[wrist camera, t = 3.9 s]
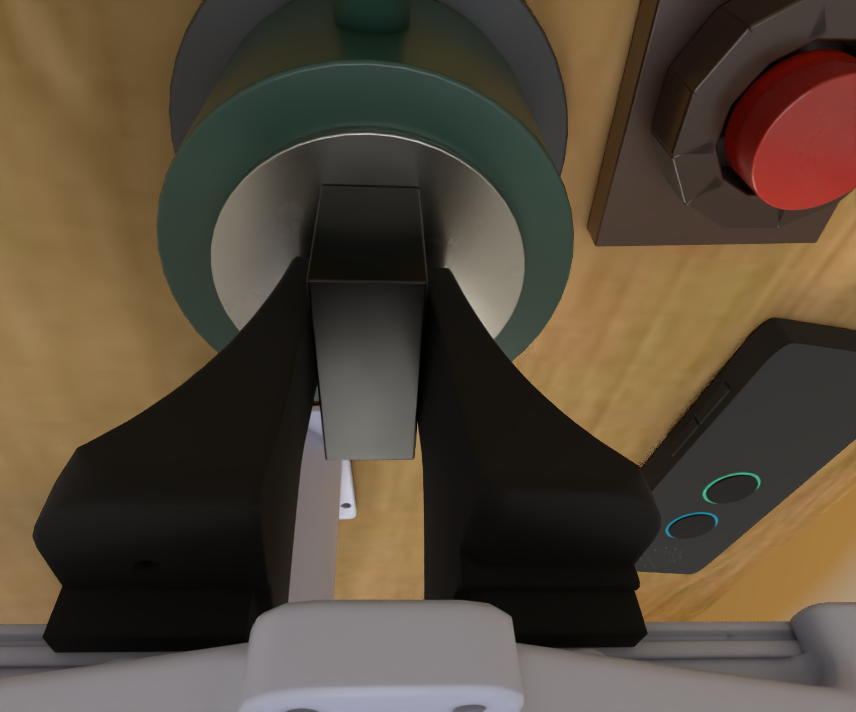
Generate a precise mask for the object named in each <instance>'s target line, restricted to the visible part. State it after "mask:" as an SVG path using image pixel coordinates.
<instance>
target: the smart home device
mask: <svg viewBox="0 0 856 712" xmlns="http://www.w3.org/2000/svg"><path fill="white" fill-rule="evenodd" d="M855 439H856V331H853V330H847V329H841V328H834V327H828V326H821V325H815V324H809V323H802V322H796V321H790V320H783V319H777V318H774V319H771V320H769V321H767V322H766V323H764V324H763V325H761V326H760V327H759V328H758V329H757V330H756V331H755V332H754V333H753V334H752V335H751V336H750V337H749V338H748V339H747V341H746V342H745V343H744V344H743V346H742V347H741V348H740V349H739V350H738V352H737V353H736V354H735V355H734V357H733V358H732V359H731V360H730V361H729V363H728V364H727V365H726V366H725V368H724V369H723V370H722V371H721V372H720V374H719V375H718V376H717V377H716V379H715V380H714V381H713V382H712V383H711V385H710V386H709V387H708V388H707V390H706V391H705V392H704V393H703V394H702V396H701V397H700V398H699V399H698V401H697V402H696V403H695V404H694V405H693V407H692V408H691V409H690V410H689V412H688V413H687V414H686V415H685V416H684V418H683V419H682V420H681V421H680V423H679V424H678V425H677V426H676V427H675V429H674V430H673V431H672V432H671V434H670V435H669V436H668V437H667V438H666V440H665V441H664V442H663V443H662V445H661V446H660V447H659V448H658V449H657V451H656V452H655V453H654V454H653V456H652V457H651V458H650V459H649V460H648V462H647V463H646V464H645V465H644V467H643V468H642V469H641V471H642V473H643V475H644V477H645V479H646V481H647V483H648V485H649V487H650V489H651V492H652V494H653V496H654V499H655V502H656V504H657V507H658V510H659V512H660V515H661V529H660V530H659V532H658V534H657V536H656V538H655V539H654V541H653V542H652V543H651V545H650V546H649V547H648V548H647V549H646V551H645V552H644V553H643V554H642V556H641V557H640V558H639V559H638V561H637V562H636V563H635V564H634V565H635V568H636V571H640V572H658V573H676V574H693V573H696V572H698V571H700V570H701V569H703V568H704V567H705V566H707V565H708V564H709V563H710V562H711V561H713V560H714V559H715V558H716V557H717V556H718V555H720V554H721V553H722V552H723V551H724V550H726V549H727V548H728V547H729V546H730V545H731V544H733V543H734V542H735V541H736V540H737V539H738V538H740V537H741V536H742V535H743V534H744V533H746V532H747V531H748V530H749V529H750V528H751V527H753V526H754V525H755V524H756V523H757V522H759V521H760V520H761V519H762V518H763V517H764V516H766V515H767V514H768V513H769V512H770V511H771V510H773V509H774V508H775V507H776V506H777V505H779V504H780V503H781V502H782V501H783V500H784V499H786V498H787V497H788V496H789V495H790V494H792V493H793V492H794V491H795V490H796V489H797V488H799V487H800V486H801V485H802V484H803V483H805V482H806V481H807V480H808V479H809V478H810V477H812V476H813V475H814V474H815V473H816V472H817V471H819V470H820V469H821V468H822V467H823V466H825V465H826V464H827V463H828V462H829V461H830V460H832V459H833V458H834V457H835V456H836V455H838V454H839V453H840V452H841V451H842V450H843V449H845V448H846V447H847V446H848V445H849V444H850V443H852V442H853V441H854V440H855Z"/></svg>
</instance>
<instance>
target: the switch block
mask: <svg viewBox="0 0 856 712" xmlns="http://www.w3.org/2000/svg"><path fill="white" fill-rule="evenodd" d="M815 49H835V50H839V51H843V52H845V53H847V54H849V55H851V56H853V57H854V58H856V0H642V1H641V6H640V10H639V14H638V18H637V22H636V26H635V31H634V35H633V39H632V43H631V47H630V51H629V56H628V60H627V64H626V68H625V72H624V77H623V81H622V85H621V89H620V93H619V97H618V102H617V106H616V110H615V114H614V118H613V122H612V127H611V131H610V135H609V139H608V143H607V147H606V152H605V156H604V160H603V164H602V168H601V172H600V177H599V181H598V185H597V189H596V193H595V197H594V202H593V206H592V210H591V214H590V218H589V222H588V227H587V229H588V232H589V234H590V236H591V238H592V240H593V242H594V244H595V246H652V245H711V244H769V243H815V242H817V240H818V239H819V237H820V235H821V233H822V231H823V230H824V228H825V226H826V224H827V223H828V221H829V219H830V217H831V216H832V214H833V212H834V210H835V209H836V207H837V205H838V203H839V202H840V201H841V200H842V199H843V198H844V197H845V196H847V195H848V194H849V193H850V192H851V191H853V190H854V189H855V188H856V187H855V188H854V189H852V190H851V191H849V192H848V193H846V194H844V195H842V196H841V197H839V198H837V199H835V200H833V201H830V202H828V203H825V204H823V205H820V206H816V207H813V208H808V209H803V210H785V209H779V208H776V207H773V206H770V205H769V204H767V203H765V202H764V201H763V200H761V199H760V198H759V197H758V196H757V195H756V193H755V192H754V191H753V190H752V189H751V188H750V187H749V186H748V185H747V184H746V183H745V181H744V180H743V179H742V178H741V177H740V176H739V175H738V174H737V173H736V172H735V171H734V169H733V168H732V167H731V166H730V164H729V162H728V160H727V157H726V154H725V147H724V141H725V132H726V128H727V124H728V121H729V119H730V116H731V114H732V112H733V110H734V108H735V106H736V105H737V103H738V101H739V100H740V99H741V97H742V96H743V94H744V93H745V92H746V91H747V90H748V88H749V87H750V86H751V85H752V84H753V83H754V82H755V81H756V80H757V79H758V78H759V77H760V76H762V75H763V74H764V73H765V72H766V71H768V70H769V69H771V68H772V67H773V66H775V65H776V64H778V63H780V62H782V61H783V60H785V59H787V58H789V57H792V56H794V55H796V54H799V53H803V52H806V51H811V50H815Z"/></svg>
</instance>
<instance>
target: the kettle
mask: <svg viewBox="0 0 856 712" xmlns="http://www.w3.org/2000/svg"><path fill="white" fill-rule="evenodd" d="M156 225H157V240H158V250H159V254H160V259H161V263H162V267H163V272H164V274H165V277H166V280H167V282H168V285H169V287H170V290H171V292H172V294H173V296H174V298H175V300H176V301H177V303H178V305H179V307H180V309H181V310H182V312H183V314H184V315H185V316H186V318H187V319H188V320H189V322H190V323H191V324H192V326H193V327H194V328H195V330H196V331H197V332H198V333H199V334H200V335H201V336H202V337H203V338H204V339H205V340H206V341H207V343H208V344H209V345H210V346H211V347H212V348H213V349H215V350H216V351H217V352H218V353H219V352H220V351H221V350H222V349H223V348H224V347H225V346H226V345H227V344H228V343H229V342H230V341H231V340H232V339H233V338H234V337H235V336H236V335H237V334H238V333H239V332H240V331H241V329H242V328H243V327H244V326H245V325H246V324H247V323H248V321H249V320H250V319H251V318H252V317H253V316H254V315H255V313H256V312H257V311H258V310H259V308H260V307H261V306H262V304H263V303H264V302H265V300H266V299H267V298H268V296H269V295H270V294H271V292H272V291H273V290H274V288H275V287H276V285H277V284H278V282H279V281H280V279H281V278H282V276H283V274H284V273H285V271H286V269H287V268H288V266H289V264H290V262H291V260H292V259H294V258H295V257H296V256H302V257H310V261H309V268H308V274H307V281H306V282H307V291H308V301H309V310H310V320H311V329H312V339H313V348H314V358H315V367H316V377H317V387H316V392H315V397H314V401H319V405H320V415H321V424H322V434H323V443H324V453H325V459H326V460H412V459H414V458H415V447H416V434H417V420H418V407H419V394H420V381H421V368H422V355H423V341H424V328H425V315H426V302H427V289H428V278H427V267H426V266H430V267H443V268H449V269H450V270H451V272H452V273H453V275H454V277H455V279H456V280H457V282H458V284H459V286H460V288H461V290H462V291H463V293H464V295H465V296H466V298H467V300H468V302H469V303H470V305H471V306H472V308H473V310H474V311H475V313H476V314H477V316H478V317H479V319H480V320H481V322H482V323H483V325H484V326H485V328H486V329H487V331H488V332H489V334H490V335H491V336H492V338H493V339H494V340H495V342H496V343H497V344H498V346H499V347H500V348H501V350H502V351H503V352H504V353H505V355H506V356H507V357H508V358H509V360H510V361H513V360H514V359H515V358H516V357H517V356H518V355H519V354H521V353H522V352H523V351H524V350H525V349H526V348H527V347H528V346H529V345H530V344H531V343H532V342H533V340H534V339H535V338H536V337H537V336H538V335H539V334H540V332H541V331H542V330H543V328H544V327H545V325H546V324H547V323H548V321H549V320H550V318H551V317H552V315H553V313H554V311H555V309H556V307H557V305H558V303H559V302H560V300H561V297H562V294H563V292H564V289H565V286H566V283H567V281H568V278H569V273H570V268H571V263H572V258H573V243H574V230H573V221H572V212H571V207H570V204H569V200H568V196H567V193H566V189H565V186H564V184H563V182H562V180H561V177H560V175H559V173H558V171H557V169H556V166H555V164H554V162H553V160H552V158H551V155H550V153H549V151H548V149H547V147H546V144H545V142H544V140H543V138H542V136H541V133H540V131H539V129H538V127H537V125H536V122H535V120H534V118H533V116H532V114H531V112H530V109H529V107H528V105H527V103H526V101H525V98H524V96H523V94H522V92H521V90H520V87H519V85H518V83H517V81H516V79H515V76H514V74H513V72H512V71H511V69H510V68H509V66H508V64H507V63H506V61H505V60H504V58H503V57H502V55H501V53H500V52H499V51H498V50H497V49H496V48H495V46H494V45H493V44H492V43H491V42H490V41H489V40H488V38H487V37H486V36H485V35H484V34H483V33H482V32H480V31H479V30H478V29H477V28H476V27H475V26H474V25H472V24H471V23H470V22H469V21H468V20H467V19H465V18H463V17H462V16H460V15H459V14H457V13H456V12H454V11H453V10H451V9H449V8H448V7H446V6H444V5H442V4H440V3H438V2H435V1H433V0H295V1H293V2H291V3H290V4H288V5H286V6H284V7H282V8H280V9H278V10H277V11H275V12H274V13H273V14H271V15H270V16H269V17H267V18H266V19H265V20H263V21H262V22H261V23H259V24H258V25H257V26H256V27H255V28H254V29H253V30H252V31H251V32H250V33H249V34H248V35H247V37H246V38H245V39H244V40H243V41H242V42H241V43H240V45H239V46H238V48H237V49H236V51H235V52H234V53H233V55H232V56H231V58H230V59H229V61H228V63H227V64H226V66H225V68H224V70H223V71H222V73H221V75H220V77H219V78H218V80H217V82H216V84H215V85H214V87H213V89H212V91H211V93H210V94H209V96H208V98H207V100H206V101H205V103H204V105H203V107H202V108H201V110H200V112H199V114H198V115H197V117H196V119H195V121H194V122H193V124H192V126H191V128H190V130H189V131H188V133H187V135H186V137H185V138H184V140H183V142H182V144H181V145H180V147H179V149H178V151H177V153H176V155H175V157H174V159H173V161H172V163H171V165H170V167H169V169H168V171H167V174H166V176H165V180H164V183H163V187H162V190H161V194H160V197H159V204H158V214H157V224H156Z"/></svg>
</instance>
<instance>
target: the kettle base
mask: <svg viewBox="0 0 856 712" xmlns="http://www.w3.org/2000/svg"><path fill="white" fill-rule="evenodd" d="M293 1H295V0H204V1H203V2H202V3H201V5H200V6H199V8H198V10H197V12H196V13H195V15H194V17H193V19H192V20H191V22H190V24H189V26H188V28H187V29H186V32H185V34H184V37H183V40H182V42H181V45H180V48H179V51H178V53H177V56H176V60H175V65H174V70H173V75H172V80H171V86H170V106H169V114H170V125H171V136H172V141H173V146H174V150H175V155H176V153H177V151H178V149H179V147H180V145H181V144H182V142H183V140H184V138H185V137H186V135H187V133H188V131H189V130H190V128H191V126H192V124H193V122H194V121H195V119H196V117H197V115H198V114H199V112H200V110H201V108H202V107H203V105H204V103H205V101H206V100H207V98H208V96H209V94H210V93H211V91H212V89H213V87H214V85H215V84H216V82H217V80H218V78H219V77H220V75H221V73H222V71H223V70H224V68H225V66H226V64H227V63H228V61H229V59H230V58H231V56H232V55H233V53H234V52H235V51H236V49H237V48H238V46H239V45H240V43H241V42H242V41H243V40H244V39H245V38H246V37H247V35H248V34H249V33H250V32H251V31H252V30H253V29H254V28H255V27H256V26H257V25H258V24H259V23H261V22H262V21H263V20H265V19H266V18H267V17H269V16H270V15H271V14H273V13H274V12H275V11H277V10H278V9H280V8H282V7H284V6H286V5H288V4H290V3H291V2H293ZM433 1H435V2H438V3H440V4H442V5H444V6H446V7H448V8H449V9H451V10H453V11H454V12H456V13H457V14H459V15H460V16H462V17H463V18H465V19H467V20H468V21H469V22H470V23H471V24H472V25H474V26H475V27H476V28H477V29H478V30H479V31H480V32H482V33H483V34H484V35H485V36H486V37H487V38H488V40H489V41H490V42H491V43H492V44H493V45H494V46H495V48H496V49H497V50H498V51H499V52H500V53H501V55H502V57H503V58H504V60H505V61H506V63H507V64H508V66H509V68H510V69H511V71H512V72H513V74H514V76H515V79H516V81H517V83H518V85H519V87H520V90H521V92H522V94H523V96H524V98H525V101H526V103H527V105H528V107H529V109H530V112H531V114H532V116H533V118H534V120H535V122H536V125H537V127H538V129H539V131H540V133H541V136H542V138H543V140H544V142H545V144H546V147H547V149H548V151H549V153H550V155H551V158H552V160H553V162H554V164H555V166H556V169H557V171H558V173H559V175H561V172H562V168H563V164H564V160H565V153H566V145H567V137H568V115H567V103H566V96H565V90H564V83H563V80H562V76H561V73H560V70H559V66H558V63H557V59H556V56H555V54H554V52H553V50H552V48H551V45H550V43H549V41H548V39H547V37H546V34H545V32H544V30H543V29H542V27H541V26H540V24H539V22H538V21H537V19H536V18H535V16H534V15H533V13H532V12H531V10H530V8H529V7H528V5H527V4H526V2H525V1H524V0H433Z"/></svg>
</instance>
